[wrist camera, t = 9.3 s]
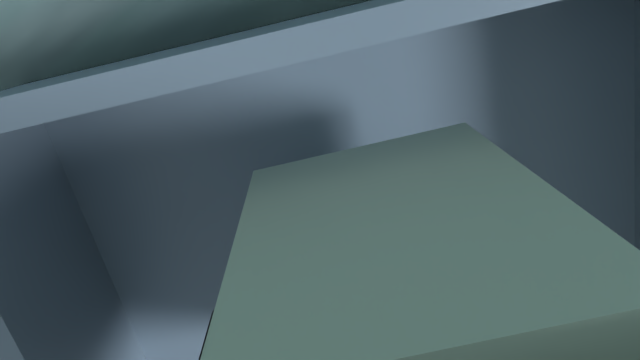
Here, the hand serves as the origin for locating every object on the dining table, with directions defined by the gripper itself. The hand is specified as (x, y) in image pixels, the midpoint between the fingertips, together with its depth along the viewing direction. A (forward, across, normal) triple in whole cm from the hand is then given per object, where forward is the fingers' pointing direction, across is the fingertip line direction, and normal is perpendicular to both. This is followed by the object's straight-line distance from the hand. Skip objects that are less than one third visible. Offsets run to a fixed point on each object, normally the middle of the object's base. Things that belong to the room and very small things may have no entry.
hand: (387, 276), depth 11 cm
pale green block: (+1, 0, 0) cm, 1 cm away
